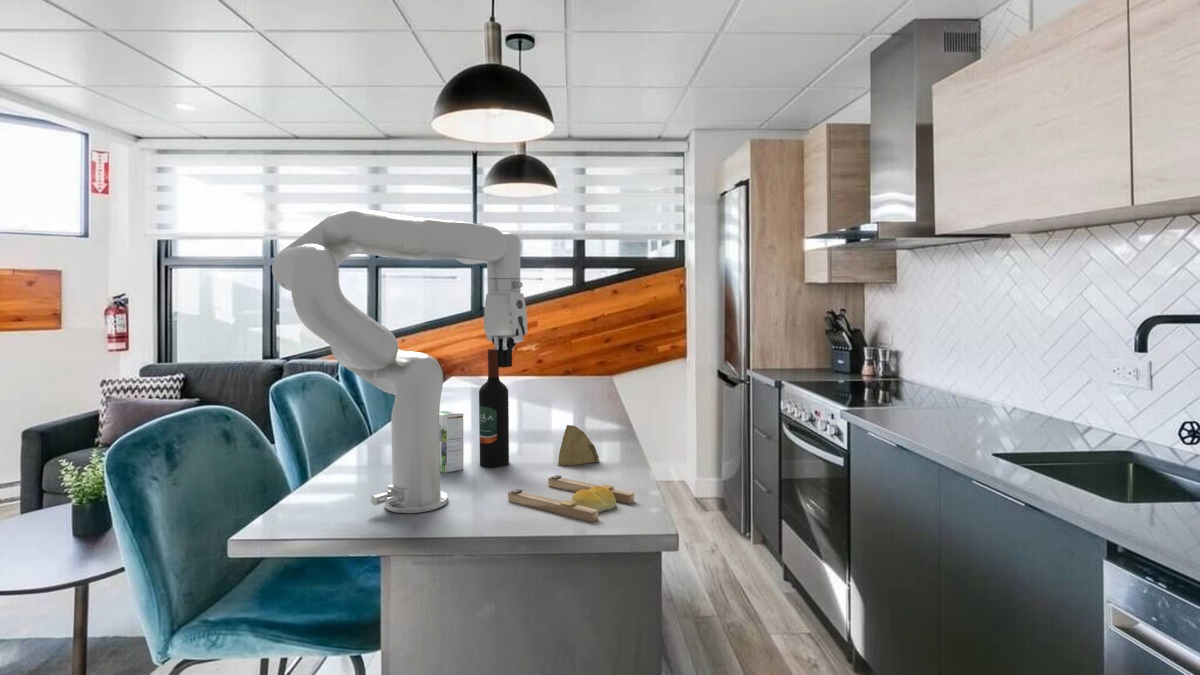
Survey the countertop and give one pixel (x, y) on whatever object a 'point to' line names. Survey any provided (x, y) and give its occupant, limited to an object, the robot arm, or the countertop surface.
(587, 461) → the rock
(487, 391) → the wine bottle
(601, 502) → the bread roll
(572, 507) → the slot rails
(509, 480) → the countertop surface
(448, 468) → the syrup box
